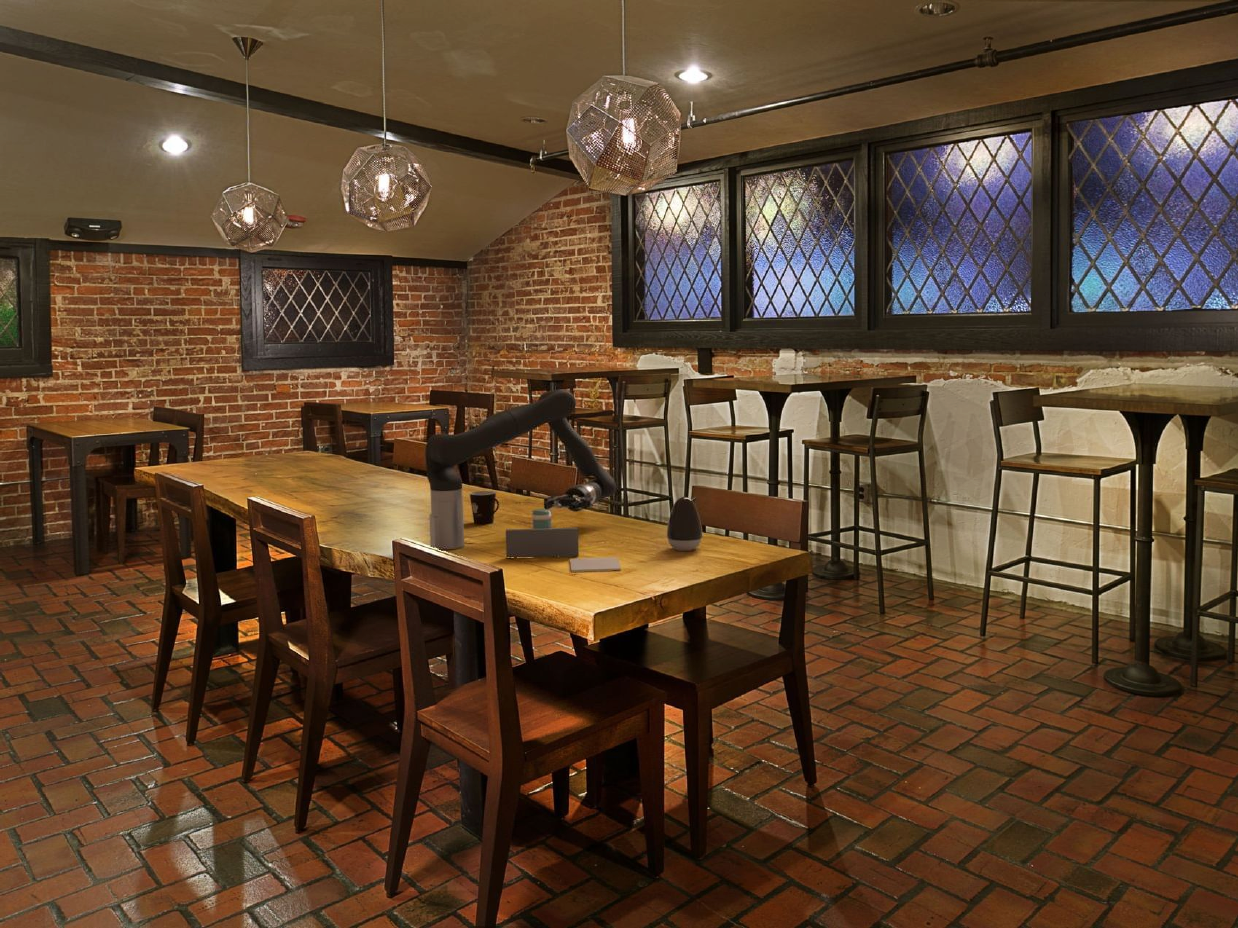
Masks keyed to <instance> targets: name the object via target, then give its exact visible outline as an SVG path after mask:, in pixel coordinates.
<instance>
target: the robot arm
mask: <svg viewBox="0 0 1238 928" xmlns="http://www.w3.org/2000/svg"><path fill="white" fill-rule="evenodd" d="M576 404H577V401H576V397H575V396H574V394H573V393H572V392H570V391H568V390H566V389H554V390H549V391H545V392H543V393H542V394H540V396H539V397H538V399H537V401H535V402H532V403H527V404H522V405H518V406H513V407H510V408H507V409H504V410H501V411H499V412H497V413H493V414H492V415H490V416H488V417H487V418H485V419H484V420H483V421H482V422H481V423H479V425H477V426H476V427H474V428H472V429H469V430H466V431H464V432H461V433H457V434H456V433H455V434H450V433H449V434H448V433H435V434H433V435H432V436H430V437H429V438H428V440H427V442H426V444H425V448H424V449H425V451H424V456H425V468H426V477H427V481H428V482H429V487H430V492H429V493H430V509H431V510H430V514H429V531H430V532H429V536H430V539H429V540H430V547H432V546H433V547H436V548H439V549H438V550H454V549H460V548H463V547H465V531H464V530H465V528H464V526H465V525H464V500H463V497H464V496H463V480H462V478H461V477H460V475H458V473H457V472H456V469H455V468H456V467H455V466H458V465H460V464H462V463H464V462H465V461H467V460H469V459H471V458H472V457H474V456H476V455H478V454H480V453H481V452H484V451H486V450H487V451H488V450H489V449H492V448H495V447H498V446H500V445H502V444H505V443H508V442H511V441H513V440H515V439H518V438H519V437H521V436H523V435H526V434H528V433H530V432H531V431H534V430H535V429H537V428H538V427H541V426H543V425H545V424H546V425H547V424H548V426H549V428H551V430H552V432H553V433H554V434H555V436H556V437H557V438H558V439H559V441H560V442H561V444H562V445H563V446H564V448H565V449H566V451H567V453H568V454H569V456H570V458H571V460H572V461H573V463H574V466H575V467H576V469H577V470H578V472H579V475H580V476H581V477H594V478H593V479H590V480H588V481H586V482H584V483H581V484H577V485H574V486H573V487H570V488H568V489H567V490H565V492H564V494H563V495H559V496H556V495H550V496H548V497H545V498H543V509H550V510H551V509H552V508H555V509H563V508H565V509H568V510H569V511H572V512H580V511H582V510H584V509H585V510H587V509H590V508H591V507H593V506H594V504H595V503H597V502H598V501H600V500H605V499H607V498H609V497H611V496H614V495H615V493H616V491H617V484H616V481H615V479H614V478H613V477H612V475H611V474H609V472H608V471H607V470H606V469H605V468H604V467H603V466H602V464H600V463H599V461H598V459H597V457H596V455H595V453H594V451H593V449H592V447H591V446H590V445H589V444H588V442H587V441H586V440H585V439H584V437H582V436H581V435H580V434H579V433H578V432H577V431H576V430H575V429H574V428H573V427H572V425H571V424H570V422H569V421H568V417H570V416H571V415H572V414H573V413H574V411H575V409H576V406H577V405H576ZM433 547H432V548H433Z"/></svg>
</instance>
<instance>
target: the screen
mask: <svg viewBox="0 0 1238 928" xmlns="http://www.w3.org/2000/svg"><path fill="white" fill-rule="evenodd" d="M505 547H506V548H505V551H506V552H505V555H506V556H505V557H510V558H511V557H514V558H517V557H554V558H568V557H567V556H579V555H580V554H579V549H580V548H579V527H553V528H552V527H551V528H542V529H533V528H516V529H515V528H514V529H511V528H510V529H507V528H506V529H505ZM558 556H559V557H558Z"/></svg>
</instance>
